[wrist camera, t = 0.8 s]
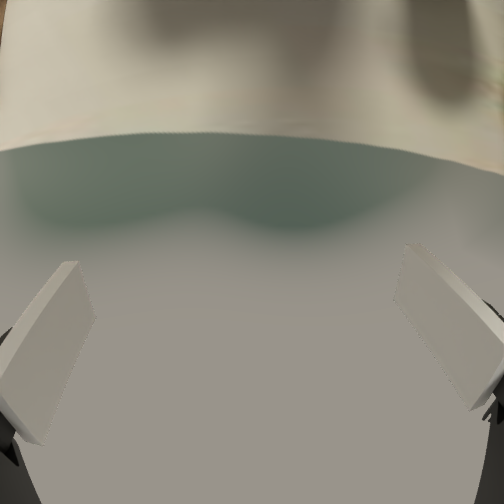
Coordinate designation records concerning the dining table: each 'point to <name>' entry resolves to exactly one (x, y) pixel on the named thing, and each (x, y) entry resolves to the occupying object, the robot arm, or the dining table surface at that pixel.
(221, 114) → the dining table surface
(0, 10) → the button panel
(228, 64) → the dining table surface
